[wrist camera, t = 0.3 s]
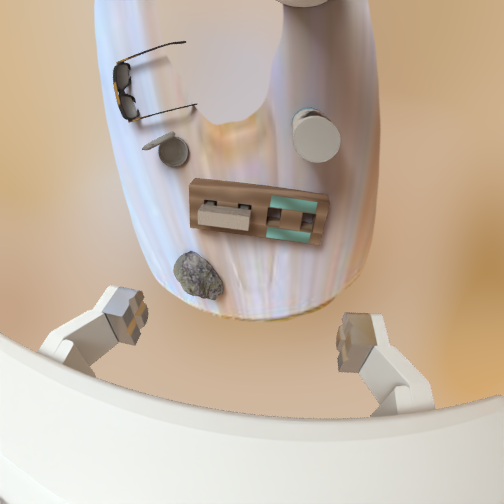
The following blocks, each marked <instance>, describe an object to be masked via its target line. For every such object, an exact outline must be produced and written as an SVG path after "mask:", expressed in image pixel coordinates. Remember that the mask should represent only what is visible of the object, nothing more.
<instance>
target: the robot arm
mask: <svg viewBox="0 0 504 504" xmlns="http://www.w3.org/2000/svg"><path fill="white" fill-rule="evenodd" d="M277 1H278V2H280V3H283V4H286V5H289V6H294V7H312V6H317V5H320V4H322V3H324V2H326V1H328V0H277ZM143 299H144V295H143V292H142V291H139V290H134V289H129V288H124V287H118V286H113V285H111V286H109V287H108V288H107V289H106V291H105V292H104V294H103V295H102V296H101V298H100V299H99V301H98V302H97V304H96V305H95V307H94V308H93V310H88V311H86V312H85V313H83V314H81V315H79V316H78V317H76V318H74V319H72V320H71V321H69V322H67V323H65V324H64V325H62V326H60V327H59V328H57V329H55V330H53V331H52V332H50V334H49V335H48V337H47V338H46V340H45V341H44V343H43V344H42V346H41V347H40V349H39V350H38V352H35V351H33V350H31V349H29V348H27V347H25V346H23V345H22V344H20V343H18V342H16V341H14V340H12V339H10V338H9V337H7V336H5V335H4V334H2V333H0V504H504V396H502V395H495V396H491V397H487V398H485V399H480V400H477V401H473V402H469V403H464V404H460V405H456V406H451V407H446V408H441V409H435V404H434V400H433V395H432V391H431V387H430V383H429V382H428V381H427V379H426V378H425V377H424V376H423V375H422V374H421V373H420V372H419V371H418V370H417V369H416V368H415V367H414V366H413V365H412V364H411V363H410V362H409V361H408V360H407V359H406V358H405V357H404V356H403V355H402V354H401V353H400V352H399V351H398V350H397V349H396V348H395V347H394V346H390V342H389V338H388V334H387V331H386V327H385V323H384V319H383V316H382V315H381V314H374V313H369V314H368V313H347V312H346V313H345V314H344V315H343V318H342V322H343V324H342V325H341V326H340V327H339V329H338V332H337V338H336V339H337V340H336V346H337V350H338V351H339V352H340V354H339V356H338V370H339V372H354V373H355V372H356V373H359V375H360V377H361V378H362V380H363V381H364V382H365V384H366V385H367V387H368V388H369V390H370V391H371V392H372V394H373V395H374V397H375V398H376V400H377V401H378V403H379V404H380V406H379V407H378V408H377V409H376V410H375V411H374V412H373V413H372V415H371V416H370V417H367V418H343V419H314V418H313V419H312V418H289V417H275V416H264V415H255V414H246V413H238V412H231V411H224V410H218V409H212V408H207V407H201V406H196V405H191V404H186V403H182V402H177V401H173V400H168V399H164V398H160V397H157V396H153V395H149V394H145V393H142V392H138V391H135V390H131V389H128V388H125V387H122V386H119V385H116V384H113V383H109V382H107V381H104V380H101V379H98V378H96V376H95V373H94V372H93V370H92V369H91V368H90V366H91V365H92V364H93V363H94V362H95V361H97V360H98V359H99V358H101V357H102V356H103V355H104V354H105V353H107V352H108V351H109V350H110V349H112V348H113V347H114V346H115V345H116V344H118V342H121V343H125V344H130V345H136V343H137V341H138V339H139V337H140V335H141V333H140V329H141V328H142V327H144V326H145V324H146V322H147V319H148V308H147V305H146V304H145V303H144V302H143Z"/></svg>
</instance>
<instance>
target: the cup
mask: <svg viewBox="0 0 504 504" xmlns="http://www.w3.org/2000/svg"><path fill="white" fill-rule="evenodd" d="M292 129H293V144H294V147H295V149H296V151H297V152H298V154H299V155H300V156H301V157H302V158H304V159H305V160H307V161H310V162H314V163H322V162H325V161H328V160H330V159H331V158H332V157H334V156H335V154H336V153H337V152H338V150H339V147H340V144H341V141H340V134H339V131H338V129H337V128H336V127H335V125H334V124H333V123H332V122H331V121H330V120H329V119H328V118H327V117H326V116H325V115H324V114H322V113H321V112H320V111H318V110H317V109H313V108H304V109H302V110H300V111H298V112H297V113H296V114H295V116H294V117H293V121H292Z"/></svg>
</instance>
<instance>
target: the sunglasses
mask: <svg viewBox="0 0 504 504" xmlns="http://www.w3.org/2000/svg"><path fill="white" fill-rule="evenodd" d="M182 43H186V41H181V42H173V43H168V44H165V45H161V46H158V47H155V48H152V49H150V50H147V51H144V52H141V53H139V54H136V55H133V56H131V57H128V58H126V59H123V60H121V61H118V62H116V63H117V65H116V66H115V67H114V70H113V85H114V90H115V94H116V99H117V104H118V106H119V109H120V111H121V114H122V116H123V117H124V118H125V119H127V120H128V122H133V121H136V120H139V119H143V118H146V117H150V116H152V115H156V114H160V113H164V112H168V111H172V110H176V109H180V108H184V107H189V106H193V105H197V104H192V105H188V106H184V107H180V108H175V109H171V110H167V111H163V112H159V113H156V114H152V115H148V116H144V117H141V118H138V119H135V118H136V117H138V116H139V110H137V111H136V109H135V106H134V103H133V102H135V103H136V101H135V98H134V97H133V96H131V95H128V94H126V93H125V92H124V89H125V88H126V87H127V86H128V85H129V84H130V83H131V76H130V78H129V79H128V69H129V70H130V65H129V63H124V61H126V60H128V59H131V58H133V57H136V56H138V55H141V54H144V53H146V52H149V51H152V50H155V49H157V48H160V47H163V46H166V45H170V44H182ZM118 92H119V95H118Z"/></svg>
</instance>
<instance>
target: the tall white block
mask: <svg viewBox="0 0 504 504" xmlns="http://www.w3.org/2000/svg"><path fill="white" fill-rule="evenodd" d="M250 206H251V205H247V204H241V207H240V209H239V208H231V207H223V206H217V201H213V200H208V201H207V203H206V204H202V205H201V206H200V208H199V210H198V224H200V225H208V226H215V227H223V228H231V229H238V230H245V231H248V230H249V226H250V220H251V210H250Z"/></svg>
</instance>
